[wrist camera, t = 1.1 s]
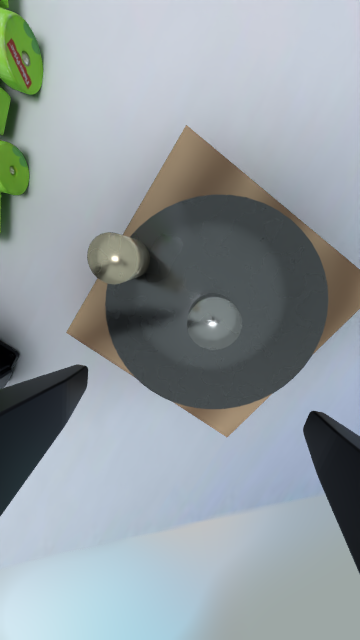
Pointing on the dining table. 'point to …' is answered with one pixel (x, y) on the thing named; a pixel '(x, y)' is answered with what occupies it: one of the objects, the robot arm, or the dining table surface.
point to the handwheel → (213, 300)
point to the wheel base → (200, 180)
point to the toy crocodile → (22, 75)
